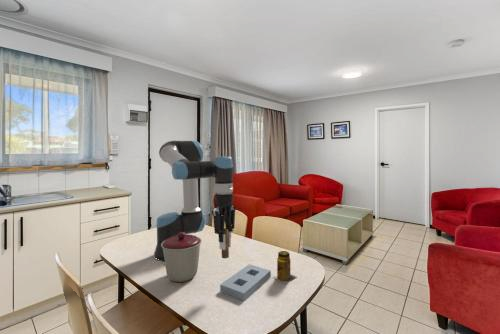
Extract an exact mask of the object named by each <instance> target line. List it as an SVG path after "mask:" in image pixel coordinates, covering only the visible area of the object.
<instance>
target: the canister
mask: <svg viewBox="0 0 500 334" xmlns="http://www.w3.org/2000/svg"><path fill="white" fill-rule="evenodd" d="M201 244H202V238H200V237H198V236H196V235H193V234H185V233H184V232H180V233H178V235H176V236H172V237H170V238H168V239H166V240H165V241H163V242H162V243H161V247H162V248H163V253H164V260H165V261H164V266H165V272H166V276H167V277H168V279H169V280H170V281H172V282H176V283H183V282H187V281H190V280H192V279H193V278H194V277H195V276H196V275H197V272H198V268H199V260H200V259H199V258H200V249H201Z"/></svg>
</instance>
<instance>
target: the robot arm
mask: <svg viewBox="0 0 500 334" xmlns="http://www.w3.org/2000/svg"><path fill="white" fill-rule="evenodd" d="M158 153H159V157H160V159H161V160H162V162H165V163H168V165H169V166H170V167H171V175H172V177H173V179H174V180H181V181H182V191H183V192H182V193H183V195H182V196H183V197H182V198H183V208H182V209H181V210H180V212H181V213H180V214H179V213H178V212H175V211H173V212H167V213H163V214H161V215H159V216H158V217H157V219H156V225H155V227H156V245H155V250H154V253H153V258H154V257H155V258H157V259H159V260H164V253H163V248H162V247H161V243H162V242H163V241H165V240H166V239H168V238H170V237H172V236H176V235H178V233H180V232H184V233H185V235H191V234H196V233H199V232H200V233H201V232H202V231H203V230H204V229H205V225H206V215H205V213H204V211H202V208H201V207H199V206H200V205H199V179H210V178H211V179H212V178H214V192H215V195H214V197H215V199H214V201H215V203H216V209H215V210H212V211H211V215H212V218H213V229H214V234H216V235H218V242H219V243H218V244H219V247H218V248H219V249H220V250H221V251H222V250H226V245H225V234H224V228H227V229H228V237H229V248H231V244H232V243H231V242H232V241H231V239H232V232H234V229H235V221H236V220H235V219H236V218H235V217H236V209H237V206H236V205H233V202H234V193H233V192H234V182H233V181H234V177H233V176H234V164H233V157H232V156H216V157H214V160H205V161H203V160H204V150H203V147H202V145H201V143H200V142H199V141H194V140H169V141H166V142H165V143H163V144H162V145H161V147H160V148H159V151H158ZM155 258H154V259H155ZM159 260H158V261H159Z"/></svg>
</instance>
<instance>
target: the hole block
mask: <svg viewBox="0 0 500 334" xmlns="http://www.w3.org/2000/svg"><path fill="white" fill-rule="evenodd" d="M271 275H272V273H271V270H270V269H267V268H263V267H260V266H258V265H257V266H256V265H253V264H246V266H245V267H243V268H242V269H240V270H238V271H237V272H236V273H235V274H233V275H231V276H230V277H228V278H227V279H226V280H224V281H223V282H221V283H220V285H219V289H220V290H219V292H220V293H223V294H225V295H229V296H231V297H234V298H236V299H239V300H242V301H244V302H245V300H247V299H248V298H249V297H250V296H251V295H252V294H253V293H254V292H256V291H257V290H258V289H259V288H260V287H261V286H263V284H264V283H266V281H268V280H269V279H270V278H271V277H272V276H271Z"/></svg>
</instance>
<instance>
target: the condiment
mask: <svg viewBox="0 0 500 334" xmlns="http://www.w3.org/2000/svg"><path fill="white" fill-rule="evenodd" d="M276 259H277V260H276V265H277V267H276V268H277V269H276V272H277V275H276V276H274V277H273V279H275V280H277V281H279V282H281V283H283V284H286V285H287V284H288V283H290V282H292V280H294V279H296V278H297V277H298V276H295V274H291V257H290V252H289V251H287V250H281V251H279V252H278V253H277V258H276Z"/></svg>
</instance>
